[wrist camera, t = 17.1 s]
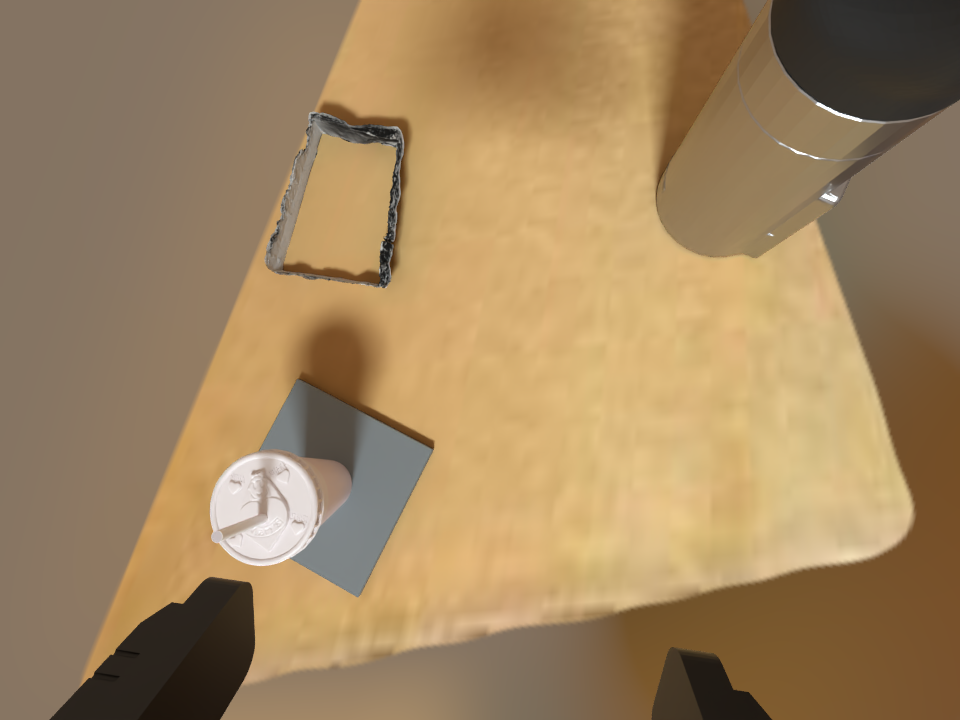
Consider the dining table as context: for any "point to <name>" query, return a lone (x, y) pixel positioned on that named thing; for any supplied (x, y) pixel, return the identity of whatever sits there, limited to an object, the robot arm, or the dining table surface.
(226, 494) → the smoothie
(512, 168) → the dining table surface
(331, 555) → the mat
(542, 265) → the dining table surface
